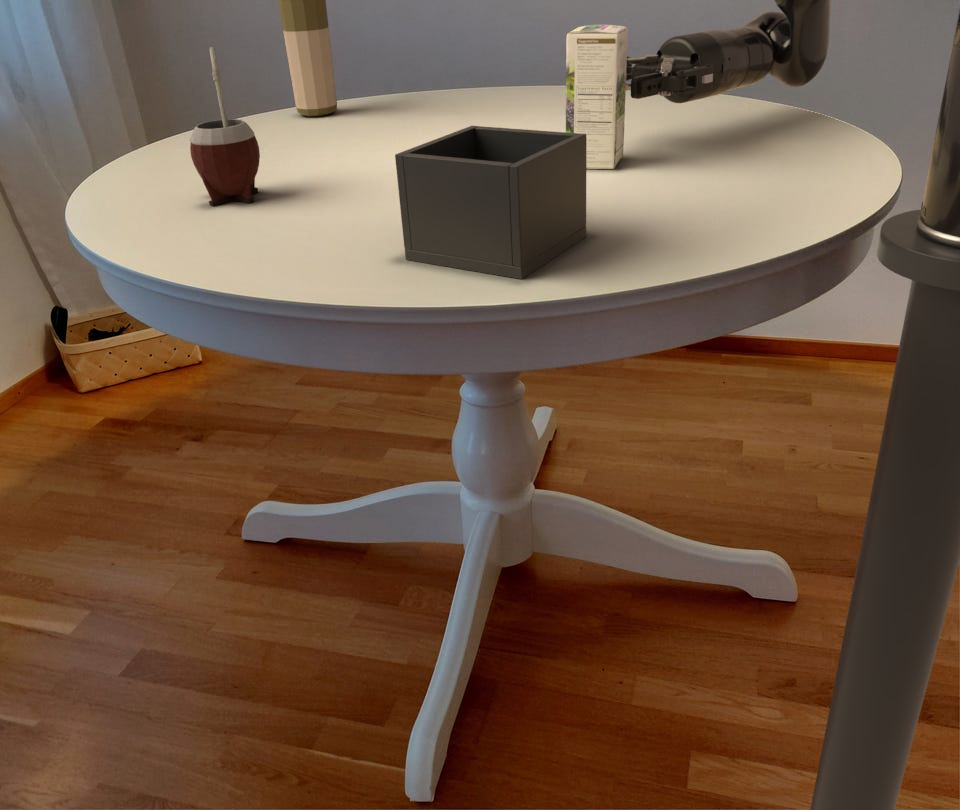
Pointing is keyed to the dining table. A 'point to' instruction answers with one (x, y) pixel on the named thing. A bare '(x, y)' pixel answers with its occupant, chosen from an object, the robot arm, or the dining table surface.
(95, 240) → the dining table surface
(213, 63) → the mate gourd
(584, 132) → the syrup box
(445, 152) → the waste bin
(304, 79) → the bottle
